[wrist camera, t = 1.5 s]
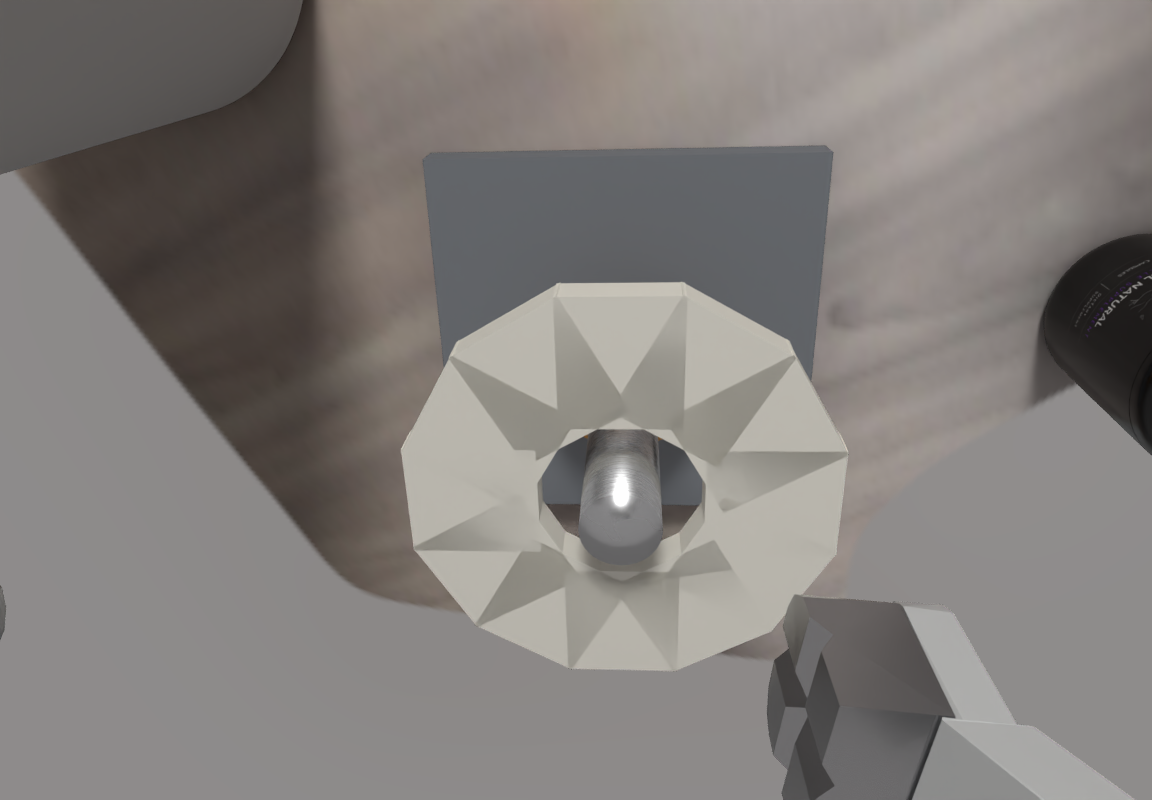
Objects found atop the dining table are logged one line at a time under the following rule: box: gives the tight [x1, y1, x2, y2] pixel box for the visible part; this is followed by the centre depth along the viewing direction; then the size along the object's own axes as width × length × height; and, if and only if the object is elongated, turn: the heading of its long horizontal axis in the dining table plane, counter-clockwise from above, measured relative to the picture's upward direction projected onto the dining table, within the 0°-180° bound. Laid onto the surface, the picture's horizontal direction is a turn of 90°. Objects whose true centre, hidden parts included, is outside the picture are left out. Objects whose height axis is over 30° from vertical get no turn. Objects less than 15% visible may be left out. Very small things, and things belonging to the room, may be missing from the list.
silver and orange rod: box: [578, 429, 663, 565], centre depth 31 cm, size 6×6×14 cm
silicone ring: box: [401, 281, 849, 672], centre depth 27 cm, size 13×13×1 cm
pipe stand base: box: [423, 146, 833, 505], centre depth 38 cm, size 16×16×2 cm
